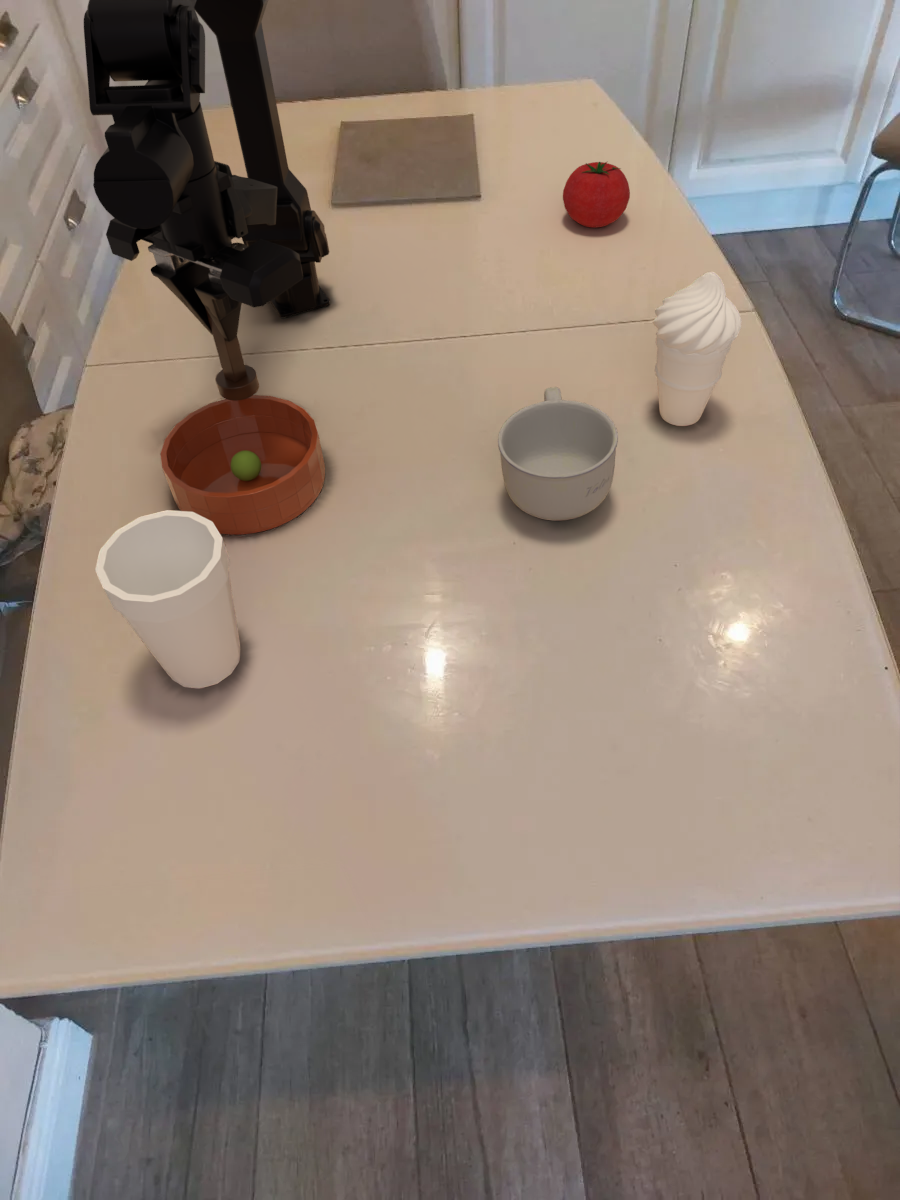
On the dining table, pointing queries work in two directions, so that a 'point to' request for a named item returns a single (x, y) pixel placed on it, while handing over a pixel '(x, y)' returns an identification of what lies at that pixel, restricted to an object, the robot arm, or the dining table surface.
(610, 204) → the tomato
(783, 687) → the dining table surface
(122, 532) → the foam cup
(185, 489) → the bowl
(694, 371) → the ice cream cone
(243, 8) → the robot arm
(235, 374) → the stir stick
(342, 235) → the dining table surface
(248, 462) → the grape
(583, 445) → the teacup
